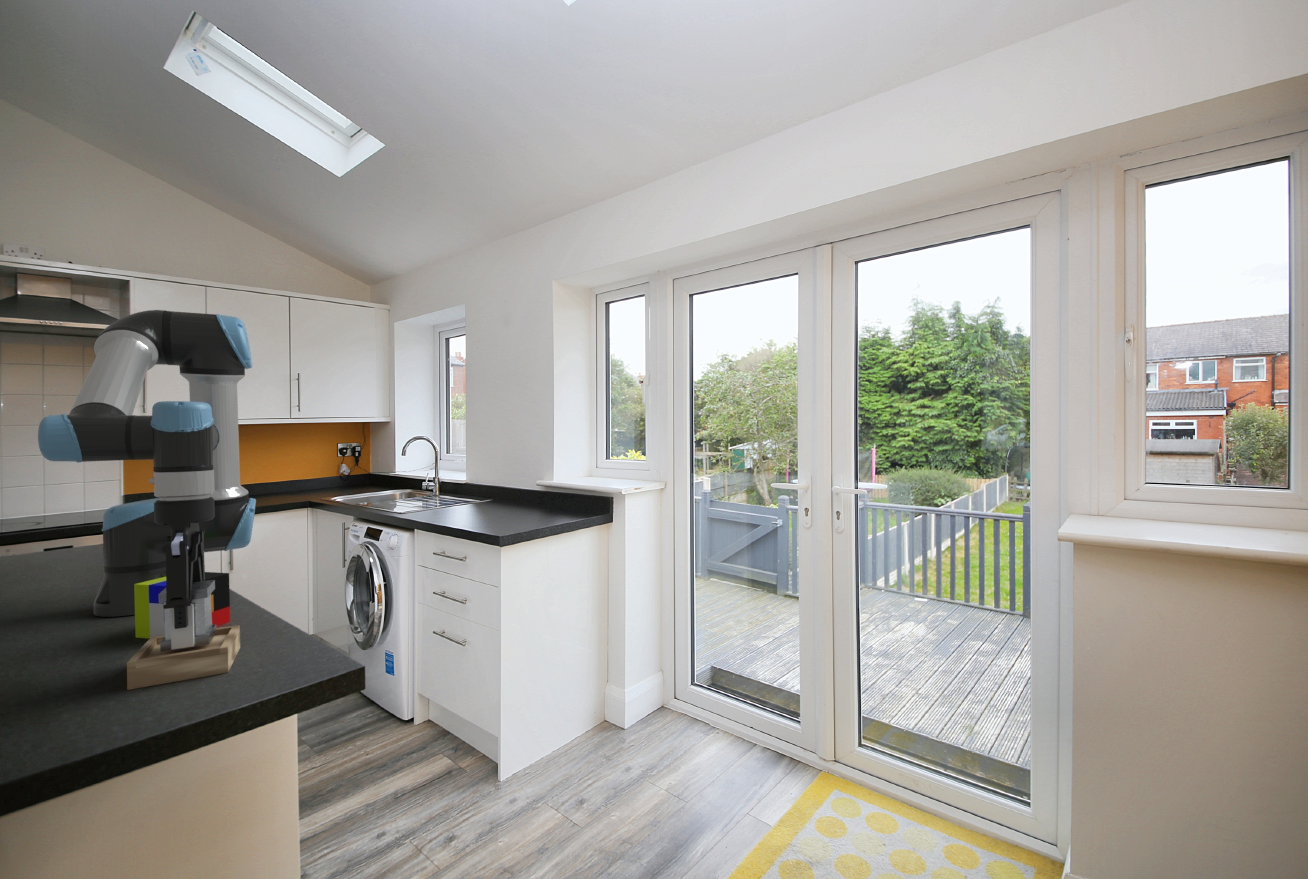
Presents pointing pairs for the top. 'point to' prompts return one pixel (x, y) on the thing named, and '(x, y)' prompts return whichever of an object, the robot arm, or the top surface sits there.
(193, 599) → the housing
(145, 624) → the puzzle toy
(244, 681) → the top surface
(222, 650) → the tray
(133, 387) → the robot arm
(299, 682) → the top surface
